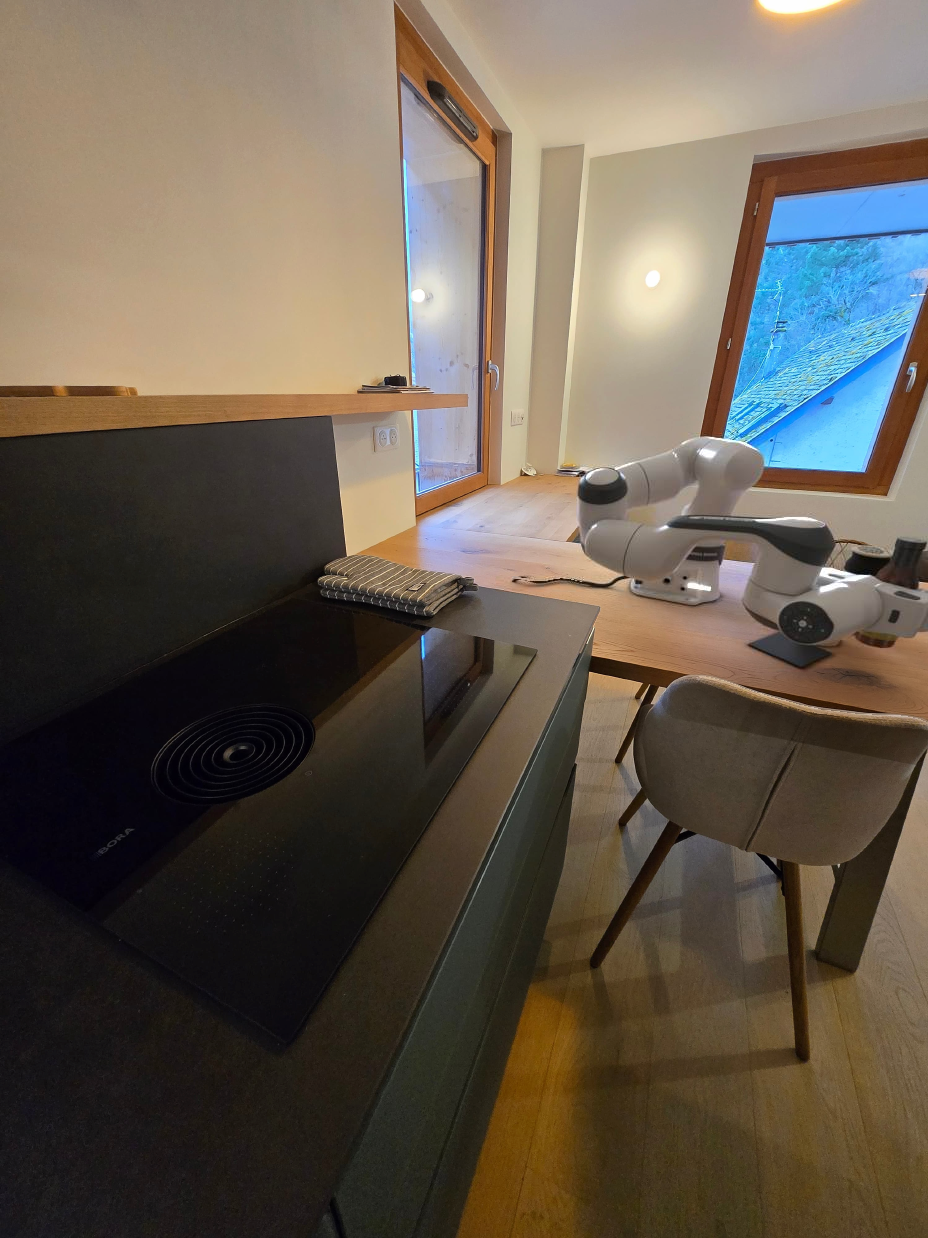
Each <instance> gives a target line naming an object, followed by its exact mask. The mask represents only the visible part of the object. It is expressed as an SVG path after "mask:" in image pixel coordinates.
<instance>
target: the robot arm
mask: <svg viewBox="0 0 928 1238" xmlns="http://www.w3.org/2000/svg"><path fill="white" fill-rule="evenodd" d="M764 470H765V458H764V455H763V454H762V452H760V451H759V450H758V449H756V448H755V447H753V446H752V445H750V444H748V443H746V442H744V441H739V440H738V441H737V440H731V439H726V438H718V437H713V436H699V437H697V436H696V437H693V438H690V439H687V440H685V441H683V442H682V443H681V444H680V445H679V446H676V447H675V448H673V449H671V450H669V451H666V452H664V453H660V454H657V455H654V456H650V457H646V458H643V459H640V460H636V461H633V462H629V463H627V464H624V465H621V466H619V467H616V468H613V467H607V466H606V467H603V466H602V467H597V468H593V469H591V470H589V471H587V472H586V473H585V474H584V475H583V476H582V477H581V478H580V479H579V482H578V485H577V490H576V491H577V492H576V493H577V513H576V514H577V522H578V529H579V536H580V539H579V542H580V547H581V549H582V552H583V553H584V555H585V556H586V557H587V558H588V559H589V560H591V561H592V562H594V563H595V564H598V565H599V566H601V567H603V568H605V569H607V570H609V571H611V572H613V573H616V574H618V575H620V576H617V577H616V578H613V579H612V580H611V581H610V582H607V583H599V582H598V583H597V582H593V581H588V580H580V579H577V578H573V579H574V580H571V579H572V577H570V578H571V579H563V578H560V579H553V580H548V581H527V580H525V581H526V582H528V583H532V584H535V585H537V584H539V585H541V584H543V585H544V584H548V583H553V582H570V583H573V584H574V583H575V584H579V585H584V586H589V587H590V586H592V587H595V588H609V587H613V586H614V585H615V584H616V583H618V582H620V581H623V580H629V579H632V580H630V581H631V582H630V585H629V586H630V590H631V592H632V593H633V594H635V595H637V596H642V597H646V598H652V599H657V600H663V601H668V602H672V603H678V604H683V605H689V606H696V605H698V604H699V605H700V604H701V603H702V604H703V603H707V602H713V601H716V600H718V599H719V598H720V596H721V592H720V569H721V566H722V563H723V562H724V557H725V553H726V542H728V543H729V542H732V543H743V544H754V545H756V546H757V547H758V552H757V555H756V557H755V560H754V563H753V566H752V569H751V573H750V575H749V576H748V579H747V583H746V585H745V588H744V590H743V591H744V592H743V594H742V598H741V602H742V605H743V607H744V609H745V610H746V612H747V613H748V615H750V616H751V617H752V618H753V619H754V620H755V622H757V623H759V624H761V625H763V626H764V627H767V628H768V629H772V630H774V631H778V632H781V633H783V635H784V636H786V637H787V638H788V639H790V640H792V641H794V642H796V643H799V644H803V645H814V646H820V645H822V644H828V643H832V642H835V641H838V640H840V641H841V640H843V639H847V638H848V637H850V636H852V635H855V634H856V632H857V631H864V632H876V633H883V634H888V635H893V636H898V638H903V639H912V638H913V639H914V638H915V637H916V635H917V634H918V633H927V632H928V589H926V588H925V589H924V588H920V587H918V588H917V589H914V590H912V589H908V588H904V587H901V586H897V585H893V584H889V583H886V582H882V581H880V580H878V579H876V577H875V576H872V575H856V574H852V573H848V572H845V571H843V570H840V569H836V568H833V567H824V566H825V565H826V564H827V562H828V561H829V558H830V557H831V555H832V553H833V551H834V550H835V548H836V546H837V544H836V543H837V542H836V541H835V538H834V535H833V533H832V531H831V530H830V528H829V526H828V525H827V523H825V522H823V521H821V520H817V519H815V518H811V517H804V516H790V517H759V516H758V517H757V516H740V515H739V516H737V515H732V514H733V511H734V509H735V507H736V505H737V504H738V502H739V500H740V498H741V497H742V496H743V494H744V493H745V492H746V491H748V490H749V489H751V488H752V487H753V486H755V485H756V484H757V483H758V481H759V480H760V479H761V477H762V475H763V473H764ZM691 487H698V488H697V490H696V492H695V495H694V497H693V498H692V500H691V502H690V503H687V505H685V506H684V507H683V509H682V511H681V515H678V516H674V517H672V518H670V520H669V521H667V523H665V524H660V525H651V524H645V523H641V522H636V521H630V520H629V516H630V515H629V512H631V511H636V510H640V509H644V508H647V507H651V506H655V505H658V504H661V503H666V502H668V501H672V500H674V499H677V497H679V495H680V494H681V493H682V492H683V491H685V490H687V489H689V488H691ZM518 577H521V578H529V579H530V577H527V576H523V575H519V576H518ZM515 578H516V577H515ZM515 578H512V580H511V583H516V582H518V581H522V580H521V579H515ZM575 580H577V581H575ZM580 581H582V582H580Z"/></svg>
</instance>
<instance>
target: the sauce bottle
mask: <svg viewBox="0 0 928 1238" xmlns="http://www.w3.org/2000/svg"><path fill="white" fill-rule="evenodd" d="M927 545H928V540H926V539H924V538H919V537H914V536H898V537H897V538H896V541H895V543H894V550H893V555H892V557H891V558H890V563H889V564H888V565H886V566H885V567H884V568H883V569H881V570H880V571H879V572H878V573H877V575H876V579H878V580H880V581H882V582H886V583H889V584H893V585H897V586H901V587H904V588H908V589H912V590H914V589H917V588H920V582H919V581H920V580H919V563H920V559H921V557H922V554H923V552H924V550H926V548H927ZM854 638H855V639H856V641H857V642H859V643H861V644H862V645H866V646H868V647H873V648H877V649H890V648H892V647H894V646H895V644H896V642H897V640H898V639H899V637H898V636H893V635H888V634H883V633H876V632H864V631H857V632H855V633H854Z"/></svg>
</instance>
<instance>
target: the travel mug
mask: <svg viewBox="0 0 928 1238" xmlns="http://www.w3.org/2000/svg"><path fill="white" fill-rule="evenodd" d="M851 551H852V553H851V556H850V557H848V559H847V560H846V561H845V562H844V563H845V564H844V567H843V570H842V571H845V572H848V573H852V574H856V575H872V576H875V577H876V575H877V573H878V572H879V571H880V570H881V569H883V568H884V567H885V566H886V565H888V564H889V563H890V558H891V557H892V555H893V552H894V550H891V549H888V548H885V547H881V546H876V545H875V546H874V545H865V544H864V545H861V544H860V545H854V546H852V547H851Z"/></svg>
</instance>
